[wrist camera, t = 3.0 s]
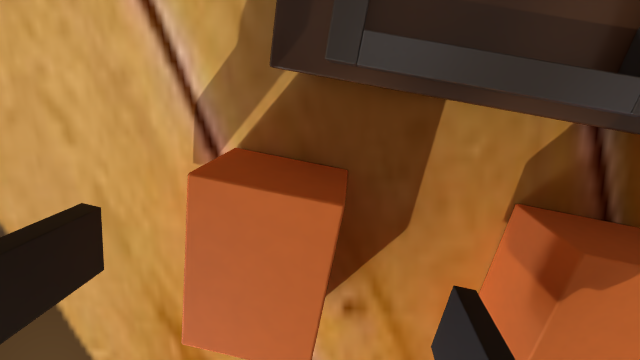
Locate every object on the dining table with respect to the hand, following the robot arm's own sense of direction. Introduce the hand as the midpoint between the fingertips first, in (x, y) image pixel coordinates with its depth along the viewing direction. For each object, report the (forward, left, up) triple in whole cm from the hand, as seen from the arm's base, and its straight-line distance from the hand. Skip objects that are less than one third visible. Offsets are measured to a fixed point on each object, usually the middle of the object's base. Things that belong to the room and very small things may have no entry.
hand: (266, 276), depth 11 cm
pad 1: (0, 0, -3) cm, 3 cm away
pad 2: (+12, 0, -3) cm, 12 cm away
